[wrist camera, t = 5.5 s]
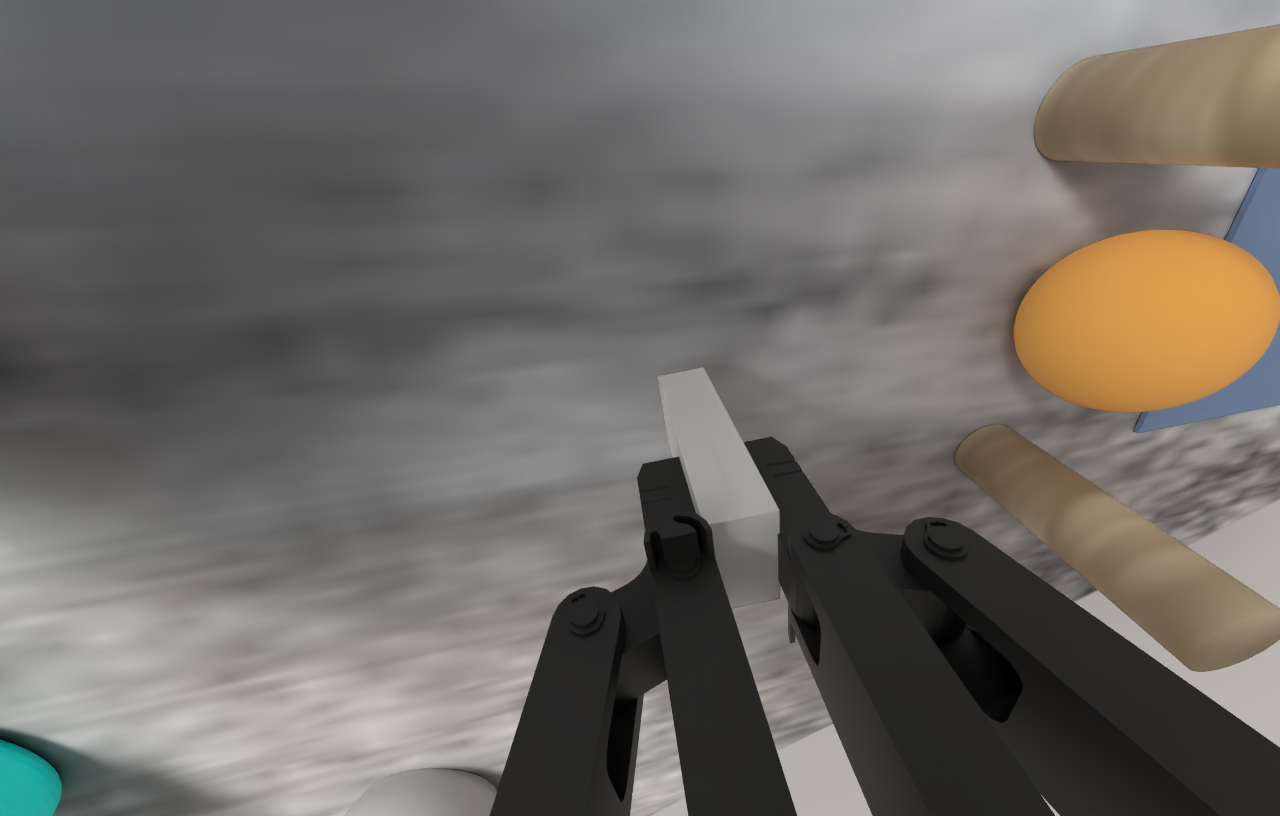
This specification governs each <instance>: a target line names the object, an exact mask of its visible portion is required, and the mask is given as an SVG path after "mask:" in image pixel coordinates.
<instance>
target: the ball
mask: <svg viewBox="0 0 1280 816" xmlns="http://www.w3.org/2000/svg"><path fill="white" fill-rule="evenodd" d="M1279 320H1280V297H1279V293H1278V290H1277V287H1276V285H1275V282H1274V280H1273V278H1272V276H1271V275H1270V274H1269V272H1268V271H1267V269H1266V268H1265V267H1264V266H1263V265H1262V264H1261V262H1259V261H1258V260H1257V259H1256V258H1255V257H1254V256H1253V255H1251V254H1250V253H1248V252H1247V251H1245V250H1244V249H1242V248H1240V247H1239V246H1237V245H1235V244H1233V243H1231V242H1228V241H1226V240H1223V239H1220V238H1217V237H1215V236H1212V235H1207V234H1202V233H1197V232H1191V231H1186V230H1163V229H1160V230H1145V231H1138V232H1132V233H1126V234H1121V235H1117V236H1113V237H1110V238H1106V239H1104V240H1101V241H1098V242H1095V243H1092V244H1090V245H1087V246H1085V247H1083V248H1081V249H1079V250H1077V251H1075V252H1073V253H1071V254H1070V255H1068V256H1066V257H1065V258H1063V259H1062V260H1060V261H1059V262H1057V263H1056V264H1054V265H1053V266H1052V267H1051V268H1050V269H1048V270H1047V271H1046V272H1045V273H1044V274H1043V275H1042V276H1041V277H1040V278H1039V279H1038V280H1037V281H1036V282H1035V283H1034V284H1033V286H1032V287H1031V288H1030V289H1029V291H1028V292H1027V294H1026V295H1025V297H1024V298H1023V300H1022V302H1021V304H1020V306H1019V309H1018V312H1017V315H1016V319H1015V324H1014V342H1015V348H1016V352H1017V354H1018V357H1019V359H1020V361H1021V363H1022V365H1023V366H1024V368H1025V370H1026V371H1027V372H1028V373H1029V375H1030V376H1031V377H1032V378H1033V379H1034V380H1035V381H1036V382H1037V383H1038V384H1040V385H1041V386H1042V387H1044V388H1045V389H1046V390H1048V391H1049V392H1050V393H1052V394H1054V395H1056V396H1058V397H1060V398H1062V399H1064V400H1066V401H1069V402H1071V403H1074V404H1077V405H1080V406H1084V407H1087V408H1092V409H1097V410H1103V411H1112V412H1147V411H1155V410H1161V409H1167V408H1172V407H1176V406H1181V405H1184V404H1187V403H1191V402H1194V401H1196V400H1199V399H1201V398H1204V397H1206V396H1208V395H1211V394H1213V393H1215V392H1217V391H1219V390H1220V389H1222V388H1224V387H1226V386H1228V385H1229V384H1231V383H1232V382H1234V381H1235V380H1237V379H1238V378H1239V377H1241V376H1242V375H1243V374H1245V373H1246V372H1247V371H1248V370H1249V369H1250V368H1251V367H1252V366H1254V365H1255V364H1256V363H1257V361H1258V360H1259V359H1260V358H1261V357H1262V356H1263V355H1264V353H1265V352H1266V350H1267V349H1268V347H1269V346H1270V344H1271V342H1272V340H1273V338H1274V336H1275V333H1276V331H1277V328H1278V324H1279Z"/></svg>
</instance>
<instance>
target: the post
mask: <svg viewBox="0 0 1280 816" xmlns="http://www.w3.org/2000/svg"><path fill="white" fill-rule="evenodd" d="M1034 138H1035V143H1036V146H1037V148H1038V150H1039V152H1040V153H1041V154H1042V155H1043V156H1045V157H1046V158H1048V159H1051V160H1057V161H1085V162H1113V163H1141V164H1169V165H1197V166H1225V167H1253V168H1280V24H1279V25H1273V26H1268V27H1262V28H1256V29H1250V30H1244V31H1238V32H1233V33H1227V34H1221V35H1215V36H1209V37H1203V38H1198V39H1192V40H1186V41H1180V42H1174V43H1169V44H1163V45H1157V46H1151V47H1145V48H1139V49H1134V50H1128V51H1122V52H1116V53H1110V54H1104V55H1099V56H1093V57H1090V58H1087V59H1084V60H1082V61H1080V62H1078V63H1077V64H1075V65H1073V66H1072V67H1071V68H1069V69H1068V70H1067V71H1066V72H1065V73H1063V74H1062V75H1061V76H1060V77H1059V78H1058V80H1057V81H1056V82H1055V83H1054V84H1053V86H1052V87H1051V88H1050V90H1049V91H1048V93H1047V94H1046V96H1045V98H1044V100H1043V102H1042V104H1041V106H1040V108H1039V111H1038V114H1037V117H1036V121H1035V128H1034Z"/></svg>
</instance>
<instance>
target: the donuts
mask: <svg viewBox="0 0 1280 816" xmlns="http://www.w3.org/2000/svg"><path fill="white" fill-rule="evenodd" d="M61 794H62V785H61V780H60V778H59V775H58V773H57V772H56V770H55V769H54V768H53V767H52V766H51V765H50V764H49V763H48V762H47V761H45V760H44V759H43V758H41V757H40V756H38V755H37V754H34V753H32V752H31V751H29V750H27V749H25V748H22V747H20V746H18V745H15V744H13V743H10V742H7V741H3V740H0V816H52V815H53V814H54V812H55V810H56V808H57V806H58V804H59V802H60V798H61Z"/></svg>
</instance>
